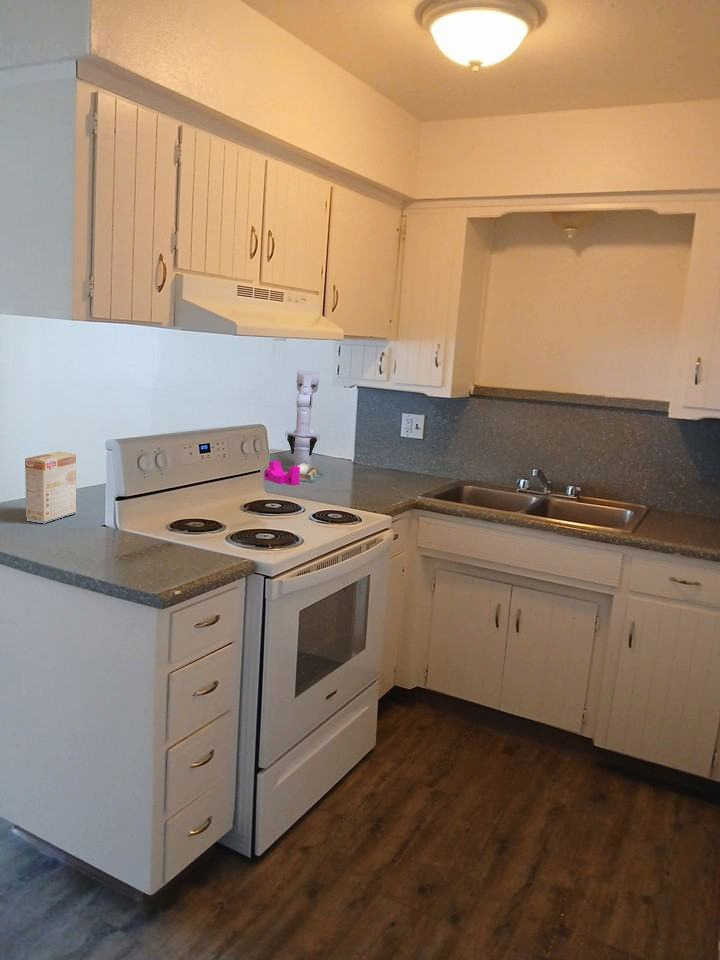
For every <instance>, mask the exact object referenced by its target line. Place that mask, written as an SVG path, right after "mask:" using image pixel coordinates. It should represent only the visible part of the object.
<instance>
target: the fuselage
mask: <svg viewBox="0 0 720 960" xmlns="http://www.w3.org/2000/svg"><path fill="white" fill-rule="evenodd" d="M311 466H312V464H311V465H310V464H309V463H308V462H303V463H301V464H300V465H298V467H300V473H305V474H307V473H309V472H310V470H311Z"/></svg>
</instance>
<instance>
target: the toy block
mask: <svg viewBox="0 0 720 960" xmlns="http://www.w3.org/2000/svg"><path fill="white" fill-rule="evenodd" d="M265 469H266V470H265V471H264V470H263V477H264V476H265V479H264V480H265V481H268V480H269V481H268V482H271V481H272V483H275V484H279V485H283V484H285V485H289V486H292V487H293V486H299V485H300V481H299V477H300V467H298V466H294V465H293V466H289V469H288V471H287V472H288V473H287V474H286V472H284V470H283V468H282V465H281V461H279V460H270V461H269V462H268V468H265Z"/></svg>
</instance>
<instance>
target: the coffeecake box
mask: <svg viewBox="0 0 720 960" xmlns="http://www.w3.org/2000/svg"><path fill="white" fill-rule="evenodd" d="M76 458H77V454H76V453H70V452H65V451H55V452H50V453H46V454H40V455H35V456H31V457H25V458H24V468H25V469H24V473H25V475H24V476H25V479H24V480H25V483H24V484H25V519H26V518H29V519H34V520H39V521H48V520H51V519H55V518H58V517H61V516H64V515H67V514H70V513H73V512H76V513H77V461H76V460H77V459H76Z"/></svg>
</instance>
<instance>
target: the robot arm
mask: <svg viewBox="0 0 720 960" xmlns="http://www.w3.org/2000/svg"><path fill="white" fill-rule="evenodd" d="M319 382H320V372H319V371H309V370H299V369H298V371H296V388H297V391H298V395H296V402H295V404H296V424H295V425H296V426H295V429H294V430H293V431H285V435H284V436H285V437H287V438H286V440H287V442H288V444H289V447H290V448H289V449H290V455H294V461H293V463H294V464H293V467H294V466H296V465H300V464H301V463H303V462H308V463H309V464H310V465H311V467H314V466H312V459H313V451H314V449H315V447H316V446H315V445H316V443H317V442H318V440H320V439H321V438H320V437H321V434H317V433H315V431H314V430H313V429H312V428H311V415H312V412H311V411H312V408H313V398H314V397H313V395H314V393H317V392H318V389H319V384H320V383H319Z"/></svg>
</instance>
